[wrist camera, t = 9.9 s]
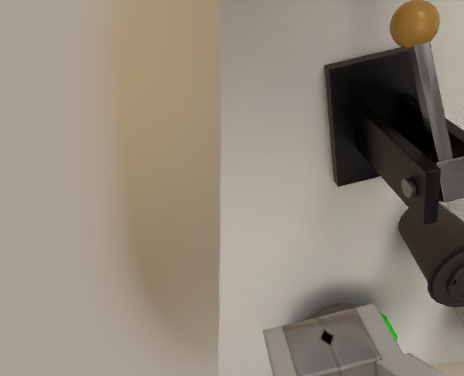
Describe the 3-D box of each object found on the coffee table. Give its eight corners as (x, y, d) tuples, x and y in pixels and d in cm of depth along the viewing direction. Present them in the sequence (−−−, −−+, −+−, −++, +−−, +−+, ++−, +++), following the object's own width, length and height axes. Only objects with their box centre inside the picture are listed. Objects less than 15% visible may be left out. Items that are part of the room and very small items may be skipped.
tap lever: (378, 14, 32) (396, -2, 29) (421, 4, 32) (443, -13, 29) (418, 200, 33) (440, 205, 30) (459, 190, 33) (485, 194, 30)
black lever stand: (324, 65, 38) (397, 127, 26) (424, 41, 38) (540, 92, 27) (333, 180, 44) (396, 272, 33) (419, 160, 45) (512, 243, 33)
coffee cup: (380, 206, 47) (429, 268, 38) (453, 179, 46) (519, 235, 38) (392, 259, 51) (438, 325, 43) (459, 234, 51) (519, 296, 42)
